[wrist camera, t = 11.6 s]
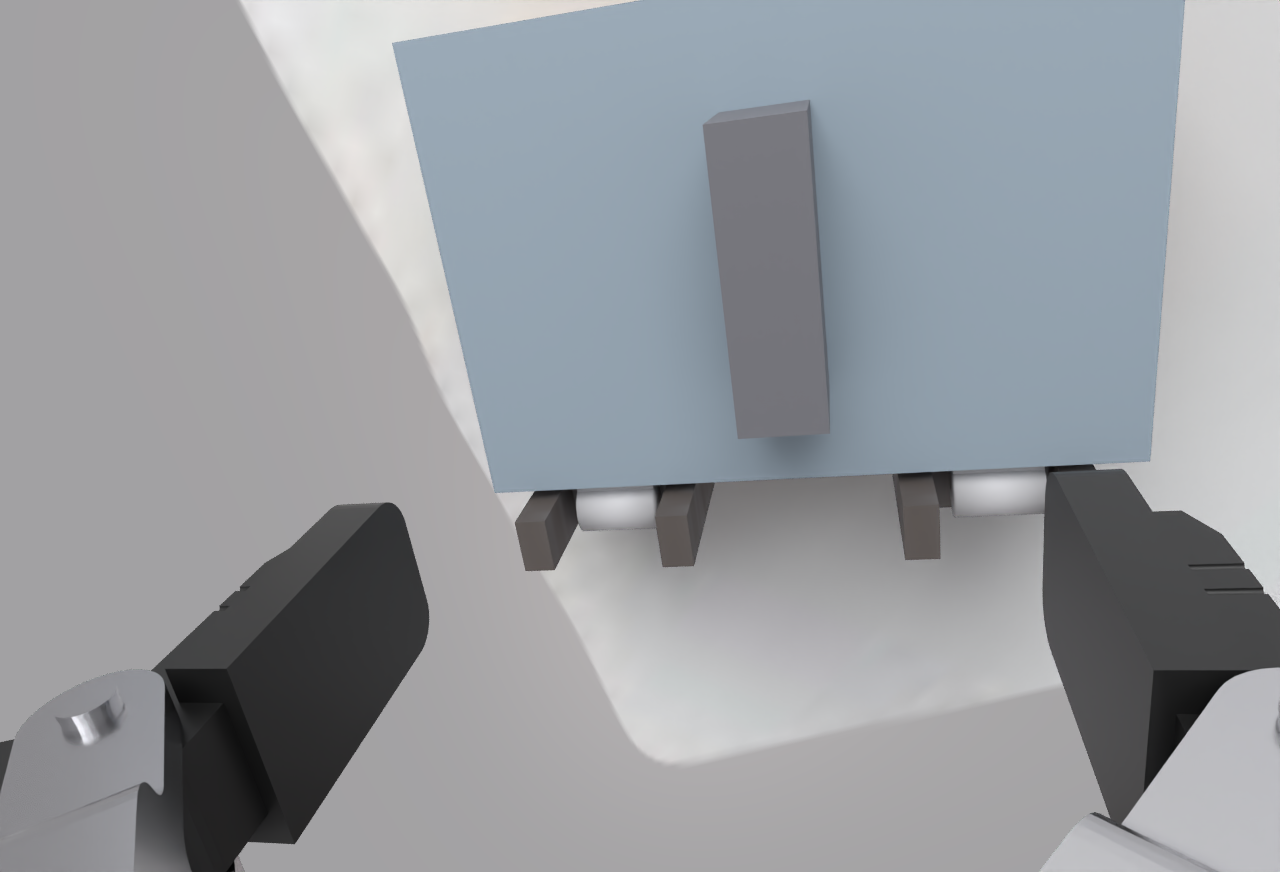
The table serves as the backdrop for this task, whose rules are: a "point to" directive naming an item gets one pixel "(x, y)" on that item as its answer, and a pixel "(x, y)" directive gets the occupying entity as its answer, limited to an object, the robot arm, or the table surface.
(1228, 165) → the table surface
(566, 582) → the table surface
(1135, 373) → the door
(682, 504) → the brown wooden open box
